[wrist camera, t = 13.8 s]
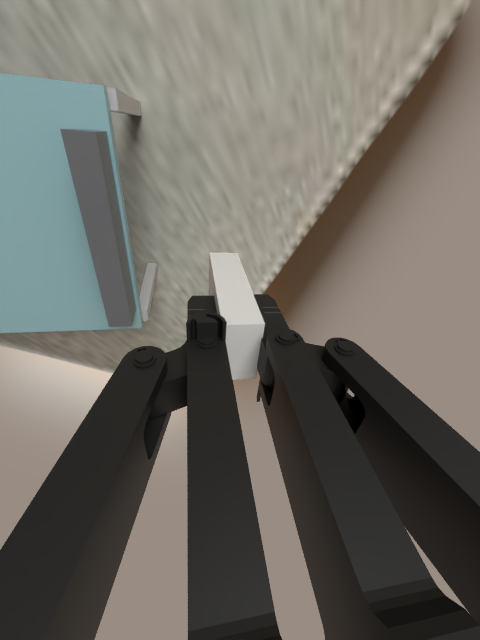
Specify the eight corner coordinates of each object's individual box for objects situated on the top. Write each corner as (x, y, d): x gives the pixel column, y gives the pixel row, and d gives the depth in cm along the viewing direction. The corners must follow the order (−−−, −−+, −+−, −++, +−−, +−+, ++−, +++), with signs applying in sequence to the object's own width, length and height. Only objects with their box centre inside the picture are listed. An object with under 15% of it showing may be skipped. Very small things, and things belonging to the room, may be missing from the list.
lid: (-13, 327, 22) (-39, 354, 19) (-168, 55, 13) (-257, 37, 10) (143, 322, 24) (138, 346, 21) (106, 87, 15) (90, 79, 12)
